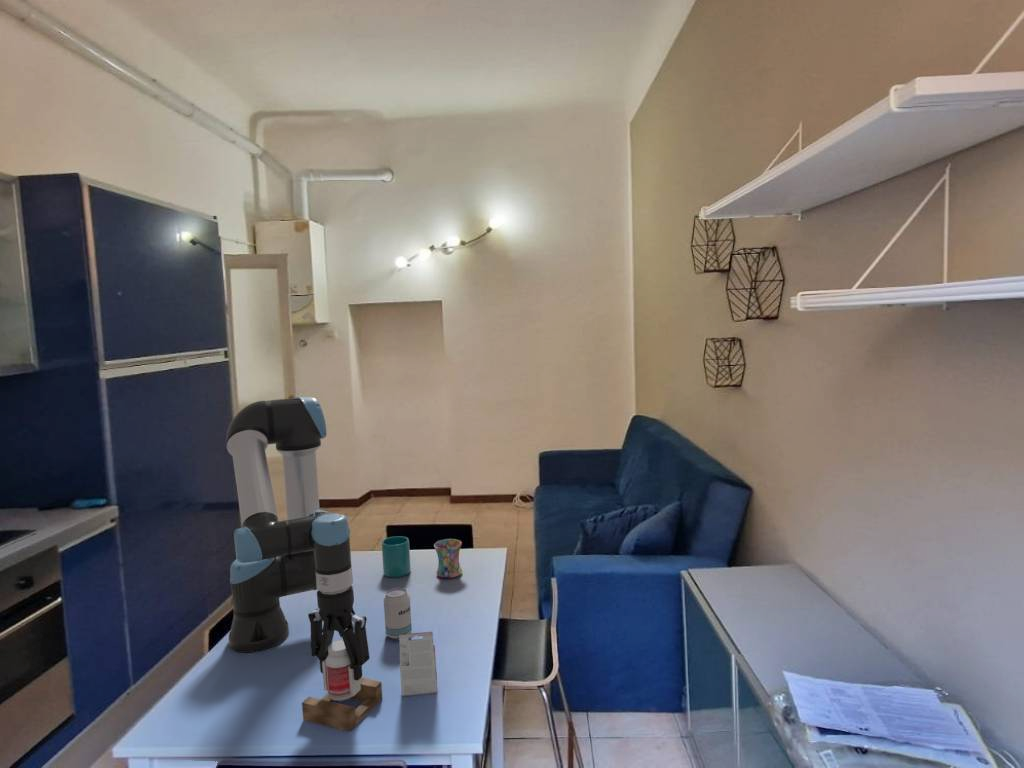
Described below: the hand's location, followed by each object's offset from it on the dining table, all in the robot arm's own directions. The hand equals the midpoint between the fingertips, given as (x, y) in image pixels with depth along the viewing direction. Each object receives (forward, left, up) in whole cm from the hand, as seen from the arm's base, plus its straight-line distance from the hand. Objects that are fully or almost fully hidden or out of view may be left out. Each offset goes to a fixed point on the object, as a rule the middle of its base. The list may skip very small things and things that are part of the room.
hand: (342, 689), depth 135 cm
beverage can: (-6, +32, -5) cm, 33 cm away
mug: (-11, +71, -5) cm, 72 cm away
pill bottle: (0, 0, -1) cm, 1 cm away
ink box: (+12, +11, -5) cm, 17 cm away
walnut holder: (0, 0, -5) cm, 5 cm away
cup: (-30, +70, -5) cm, 76 cm away
